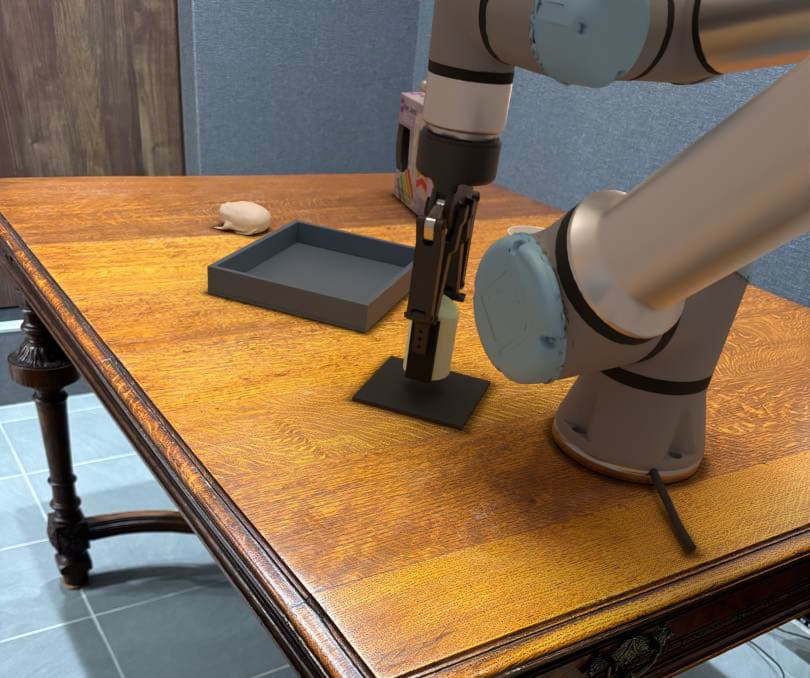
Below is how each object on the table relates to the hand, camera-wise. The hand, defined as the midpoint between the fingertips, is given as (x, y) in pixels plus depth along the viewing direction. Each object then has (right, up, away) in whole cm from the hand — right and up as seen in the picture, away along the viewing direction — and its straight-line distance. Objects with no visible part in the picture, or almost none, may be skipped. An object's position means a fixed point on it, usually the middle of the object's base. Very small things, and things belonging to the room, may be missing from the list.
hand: (426, 368), depth 86 cm
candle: (0, 0, 0) cm, 0 cm away
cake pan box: (0, +42, +61) cm, 74 cm away
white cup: (+14, +14, +26) cm, 32 cm away
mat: (0, -2, +2) cm, 3 cm away
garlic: (-27, +30, +39) cm, 57 cm away
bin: (-13, +17, +25) cm, 33 cm away
